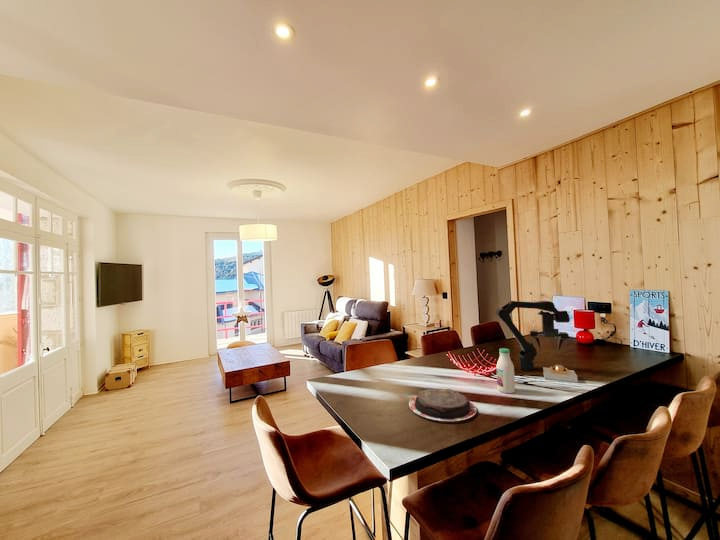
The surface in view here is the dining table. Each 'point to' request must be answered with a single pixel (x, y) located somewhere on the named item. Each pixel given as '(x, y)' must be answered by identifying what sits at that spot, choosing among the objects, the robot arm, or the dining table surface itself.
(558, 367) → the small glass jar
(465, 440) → the dining table surface
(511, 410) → the dining table surface
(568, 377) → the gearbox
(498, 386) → the milk bottle
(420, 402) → the chocolate cake
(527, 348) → the robot arm
